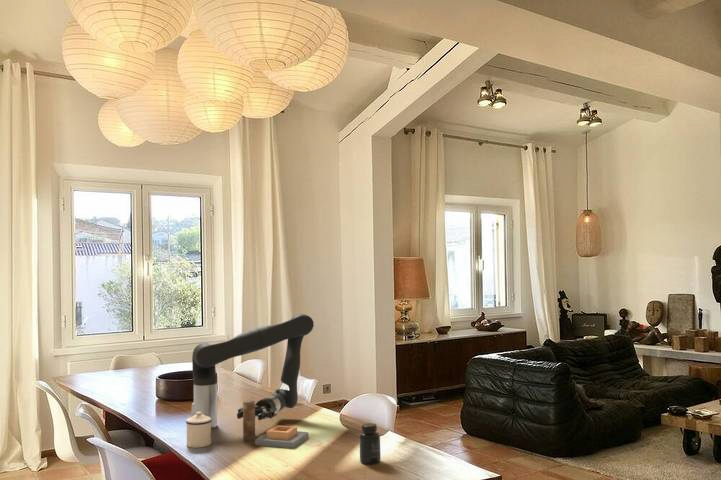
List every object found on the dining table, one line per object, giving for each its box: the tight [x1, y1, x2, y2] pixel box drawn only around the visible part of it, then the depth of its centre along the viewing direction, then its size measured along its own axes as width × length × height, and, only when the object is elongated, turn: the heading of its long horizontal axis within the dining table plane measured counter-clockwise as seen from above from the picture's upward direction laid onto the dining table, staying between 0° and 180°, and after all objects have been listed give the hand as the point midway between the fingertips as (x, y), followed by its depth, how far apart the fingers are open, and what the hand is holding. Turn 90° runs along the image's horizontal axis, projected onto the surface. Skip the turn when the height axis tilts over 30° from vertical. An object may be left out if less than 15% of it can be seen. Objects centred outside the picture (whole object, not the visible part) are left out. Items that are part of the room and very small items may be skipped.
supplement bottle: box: [358, 422, 382, 466], centre depth 202 cm, size 7×7×12 cm
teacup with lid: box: [185, 412, 212, 449], centre depth 225 cm, size 12×9×12 cm
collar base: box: [254, 424, 309, 449], centre depth 227 cm, size 15×14×4 cm
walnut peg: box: [242, 399, 256, 442], centre depth 230 cm, size 4×4×14 cm
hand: (248, 416), depth 230 cm, fingers open, 8 cm apart
